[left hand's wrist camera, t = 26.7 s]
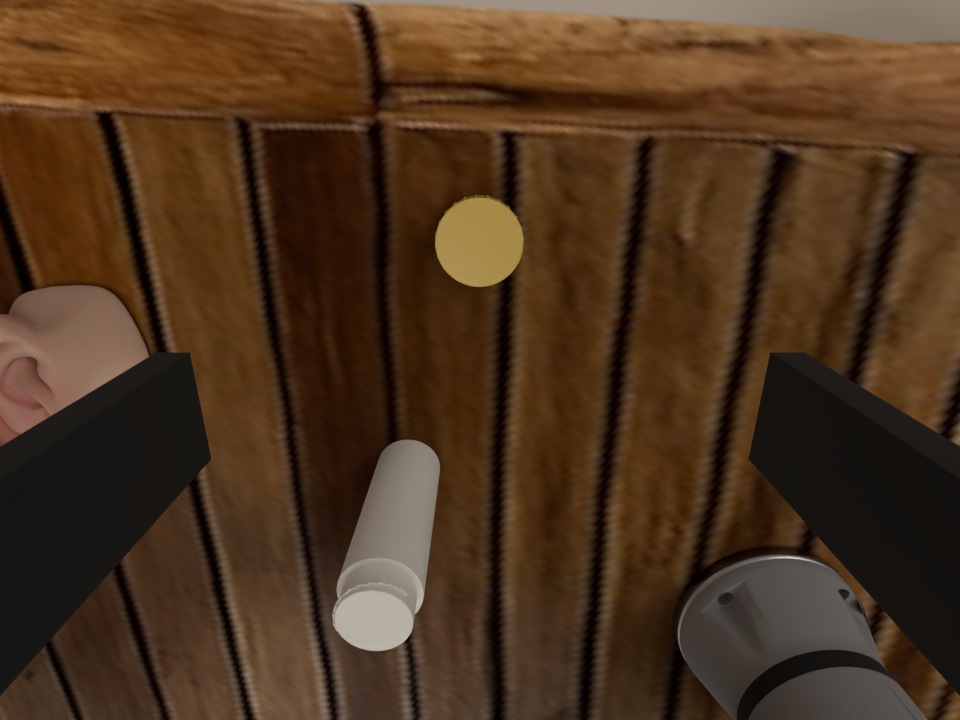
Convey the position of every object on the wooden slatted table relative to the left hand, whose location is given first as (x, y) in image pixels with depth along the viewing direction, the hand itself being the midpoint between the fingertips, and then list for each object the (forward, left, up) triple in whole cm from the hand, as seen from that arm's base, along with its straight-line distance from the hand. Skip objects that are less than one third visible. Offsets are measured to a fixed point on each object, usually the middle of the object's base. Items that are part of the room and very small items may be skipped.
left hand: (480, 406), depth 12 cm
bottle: (-17, +6, -26) cm, 32 cm away
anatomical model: (-8, +30, -26) cm, 41 cm away
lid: (0, 0, -24) cm, 24 cm away
